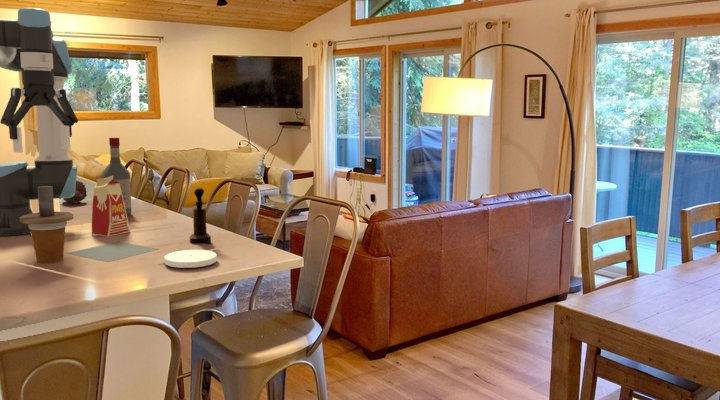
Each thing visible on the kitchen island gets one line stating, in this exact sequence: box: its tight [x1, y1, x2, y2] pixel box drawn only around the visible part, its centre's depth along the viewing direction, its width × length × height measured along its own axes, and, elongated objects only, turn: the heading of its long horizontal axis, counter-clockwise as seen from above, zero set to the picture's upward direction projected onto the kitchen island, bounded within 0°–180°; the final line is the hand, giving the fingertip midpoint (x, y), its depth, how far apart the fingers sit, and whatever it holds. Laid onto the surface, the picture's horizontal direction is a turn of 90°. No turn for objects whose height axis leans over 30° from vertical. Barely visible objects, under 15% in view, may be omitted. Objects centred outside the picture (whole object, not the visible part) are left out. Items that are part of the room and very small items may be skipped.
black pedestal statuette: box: [189, 186, 212, 245], centre depth 190 cm, size 7×6×18 cm
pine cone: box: [62, 179, 88, 204], centre depth 260 cm, size 18×10×10 cm, turn 40°
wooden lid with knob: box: [20, 186, 74, 224], centre depth 163 cm, size 13×13×9 cm
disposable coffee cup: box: [28, 221, 68, 264], centre depth 165 cm, size 10×10×12 cm
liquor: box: [101, 137, 132, 217], centre depth 234 cm, size 9×9×30 cm
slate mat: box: [66, 240, 159, 263], centre depth 177 cm, size 18×18×1 cm
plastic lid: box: [163, 249, 218, 269], centre depth 167 cm, size 14×14×2 cm
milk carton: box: [91, 175, 131, 238], centre depth 200 cm, size 9×9×20 cm
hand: (43, 150), depth 162 cm, fingers open, 13 cm apart
